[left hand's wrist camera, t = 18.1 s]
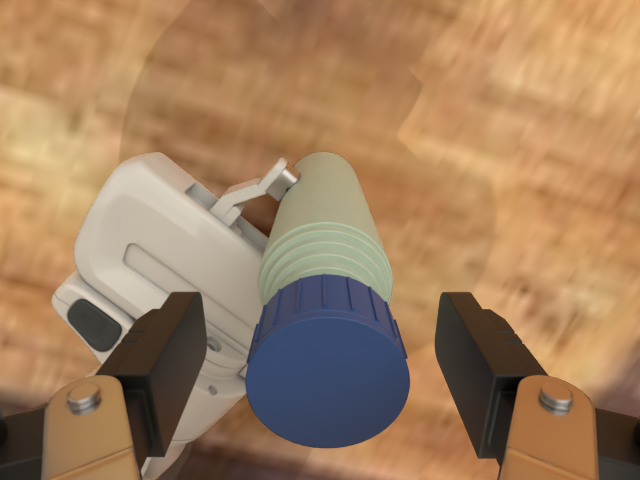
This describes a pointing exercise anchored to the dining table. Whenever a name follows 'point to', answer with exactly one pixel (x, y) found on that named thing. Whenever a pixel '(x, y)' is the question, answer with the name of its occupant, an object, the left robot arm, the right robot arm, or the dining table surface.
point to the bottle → (324, 231)
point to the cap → (327, 363)
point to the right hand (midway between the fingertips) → (333, 203)
